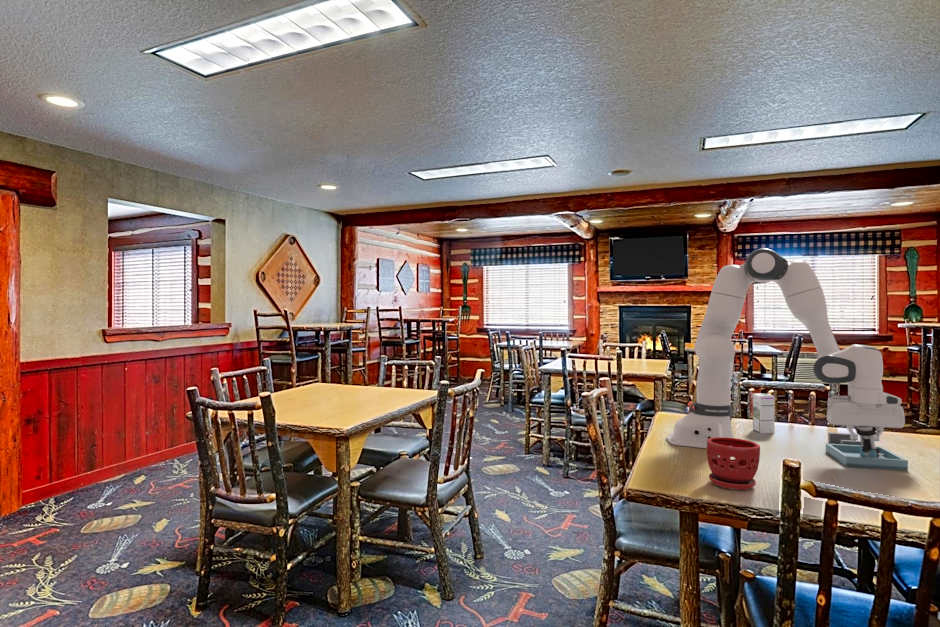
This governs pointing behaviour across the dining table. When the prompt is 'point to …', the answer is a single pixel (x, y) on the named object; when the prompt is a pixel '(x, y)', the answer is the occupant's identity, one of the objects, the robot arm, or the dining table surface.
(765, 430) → the syrup box
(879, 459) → the tray
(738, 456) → the plant pot
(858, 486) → the dining table surface
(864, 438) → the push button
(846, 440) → the clip holder
